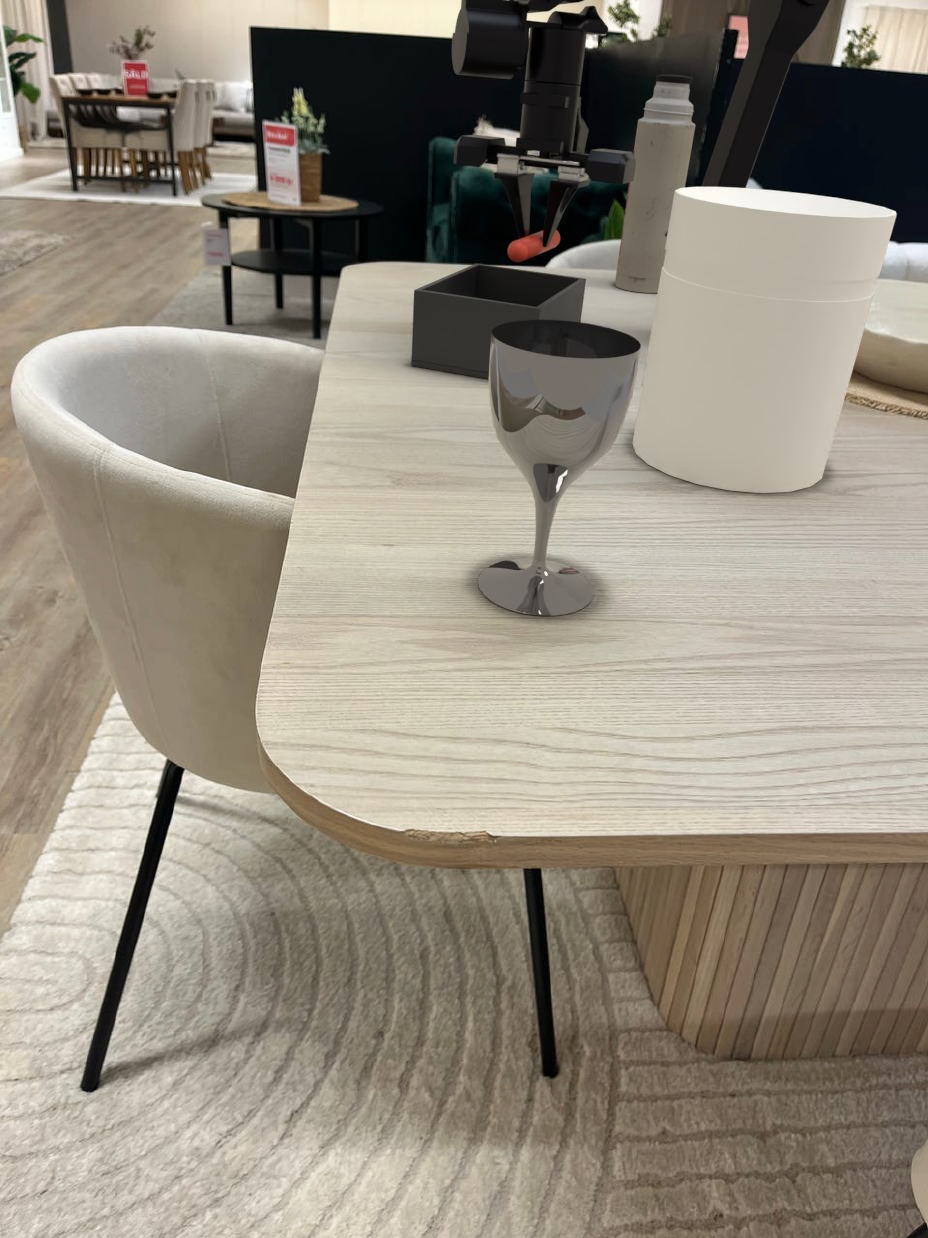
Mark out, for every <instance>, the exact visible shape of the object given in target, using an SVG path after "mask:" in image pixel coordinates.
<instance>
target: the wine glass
mask: <svg viewBox="0 0 928 1238" xmlns="http://www.w3.org/2000/svg"><path fill="white" fill-rule="evenodd" d="M641 349H642V344H641V342H640V341H639V339H637V338H636V337H633V336H632V335H630V334H628V333H626V332H623V331H620V330H618V329H615V328H610V327H606V326H603V325H598V324H593V323H592V324H591V323H586V322H582V321H581V322H572V321H562V320H522V321H514V322H508V323H504V324H501V325H498V326H497V327H495V328H494V329H493V330H492V334H491V343H490V354H489V379H488V392H489V406H490V414H491V420H492V425H493V429H494V432H495V436H496V438H497V440H498V441H499V444H500V446H501V447H502V449H503V450H504V452H505V453H506V454H507V455H508V457H509V458H510V460H511V461H512V462H513V464H514V465H515V466H516V468H517V469H518V470H519V472H520V473H521V475H523V477H524V479H525V480H526V482H527V484H528V487H529V488H530V491H531V493H532V496H533V500H534V509H535V510H534V511H535V513H534V514H535V532H534V533H535V536H534V548H533V555H532V558H528V557H527V558H526V557H525V558H511V559H505V560H501V561H498V562H495V563H493V564H491V565H489V566H487V567H485V569H484V570H483V571H482V572H481V573H480V574H479V576H478V579H477V580H478V581H477V582H478V588H479V590H480V592H481V593H482V595H483V596H484V597H486V598H487V599H488V600H489V601H491V602H492V603H494V604H495V605H497V606H500V607H502V608H504V609H506V610H509V611H512V612H516V613H519V614H524V615H530V616H541V617H542V616H543V617H552V616H553V617H555V616H562V615H563V616H564V615H569V614H572V613H575V612H579V611H580V610H583V609H584V608H586V607H587V606H589V605H590V604H591V602H593V599H594V597H595V589H594V585H593V583H592V582H591V580H590V579H589V578H588V577H587V576H586V575H584V574H583V573H582V572H580V571H579V570H577V569H575V568H573V567H571V566H570V565H569V566H568V565H566V564H564V563H560V562H556V561H552V560H548V559H547V554H548V547H549V546H548V545H549V541H550V540H549V538H550V534H551V530H552V527H553V526H552V525H553V522H554V519H555V515H556V510H557V508H558V505H559V502H560V501H561V499H562V498H563V496H564V495H565V493H566V491H567V490H568V489H569V488H570V487H571V486H572V485H573V484H574V483H575V482H576V481H577V480H578V479H579V478H581V477H582V476H583V475H584V474H586V473H587V472H588V471H589V470H590V469H592V468H593V467H594V466H595V465H597V464H598V463H599V462H600V461H601V460H603V458H604V457H605V456H606V455H607V454H608V453H609V452H610V451H611V449H612V447H613V446H614V444H615V443H616V440H617V438H618V437H619V434H620V432H621V430H622V427H623V425H624V422H625V421H626V417H627V414H628V411H629V408H630V404H631V401H632V398H633V396H634V395H633V394H634V390H635V386H636V381H637V376H638V371H639V363H640V357H641Z"/></svg>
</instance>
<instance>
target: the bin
mask: <svg viewBox="0 0 928 1238" xmlns="http://www.w3.org/2000/svg"><path fill="white" fill-rule="evenodd" d="M586 283H587V278H585V277H576V276H569V275H563V274H554V273H547V272H539V271H533V270H525V269H519V268H512V267H504V266H498V265H489V264H483V263H474V264H472V265H469V266H467V267H464V268H462V269H460V270H457V271H456V272H455V271H454V272H453V273H451V274H448V275H446V276H443V277H441V278H439V279H437V280H434V281H432V282H429V283H426V284H424V285H422V286H420V287H418V288H416V289H413V306H412V307H413V309H412V334H411V335H412V336H411V339H412V340H411V361H410V365H411V367H417V368H422V369H428V370H435V371H438V372H439V371H440V372H444V373H445V372H446V373H451V374H457V375H463V376H469V377H474V378H480V379H486V380H489V354H490V343H491V334H492V330H493V329H494V328H495V327H497V326H498V325H501V324H504V323H508V322H514V321H522V320H562V321H572V322H581V323H582V315H583V308H584V307H583V306H584V298H585V290H586V285H587V284H586Z"/></svg>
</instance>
